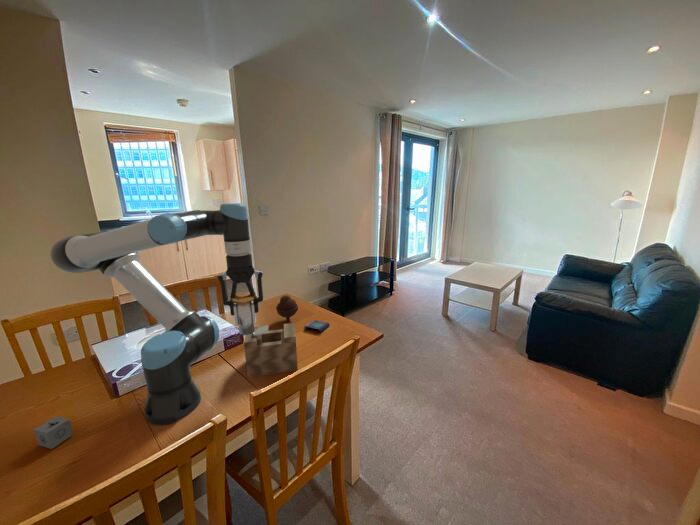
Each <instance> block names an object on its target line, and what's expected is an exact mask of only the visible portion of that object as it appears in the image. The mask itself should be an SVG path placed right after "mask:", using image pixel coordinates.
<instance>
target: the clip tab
mask: <svg viewBox="0 0 700 525" xmlns="http://www.w3.org/2000/svg"><path fill="white" fill-rule="evenodd" d="M269 327H270V326H269V324H266V325H263V326H260V327H258V328H257V329H254V330H255V331H254V332H253V333H252V337H255V336H258V335H261V334H263V333H266V332H268V331H269V330H270V329H269Z"/></svg>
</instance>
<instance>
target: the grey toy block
mask: <svg viewBox="0 0 700 525" xmlns="http://www.w3.org/2000/svg"><path fill="white" fill-rule="evenodd" d="M33 432H34V434H35V438H36V441H37V444H38V446H40V447H43V448H47V449H50V450H52V449H54V448H56V447H57V446H59V445H60V444H62V443H63V442H64V441H66V440H67V439H69V438H70V437H72V436H74V432H73V428H72V423H71V420H70V419H69V418H65V417H61V416H59V415H56V416H54V417H52V418H50V419H49V420H47V421H46V422H44V423H42V424H41V425H39V426H37V427H35V428H33Z"/></svg>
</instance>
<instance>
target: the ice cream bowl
mask: <svg viewBox="0 0 700 525" xmlns="http://www.w3.org/2000/svg"><path fill="white" fill-rule="evenodd" d="M275 309H276V313H277V315H279V316H280V317H282V318H285V322H287V323H288V322H291V321H290V320H291V318H292V317H293V316H294V315H296V313H297V312H298V309H299V305H298V304H297V302H296V300H294V299H293V298H291V297H290V295H287V294H286V295H283V296H282V295H281V297H280V299H279V302H278V303H277V305H276V306H275Z"/></svg>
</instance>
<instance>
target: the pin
mask: <svg viewBox="0 0 700 525" xmlns="http://www.w3.org/2000/svg"><path fill="white" fill-rule="evenodd" d="M256 296H257V294H256V292H255V295H253V296H251V295H250V292H249V290H248V291H247V290H246V291H238V292H236V295H235V297H232V298H231V295H230V296H229V300H230V299H231V302H233V303H234V304H236V308H237V317H238V332H239V334H240V335H242V336H246V335H249V334H252V333H253V332H254V331H255V330H254V327H255V324H253V316H252V306H251V305H252V302H253V300H254V299H255V297H256Z"/></svg>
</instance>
